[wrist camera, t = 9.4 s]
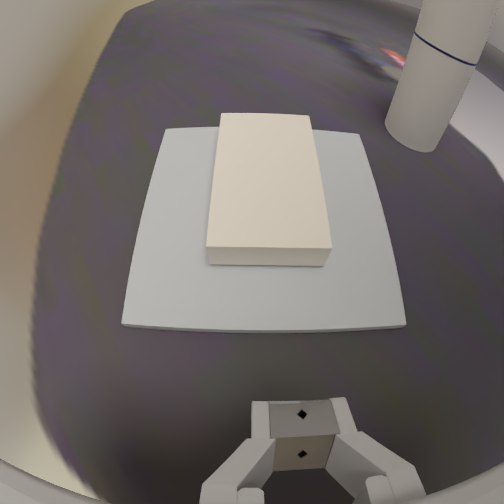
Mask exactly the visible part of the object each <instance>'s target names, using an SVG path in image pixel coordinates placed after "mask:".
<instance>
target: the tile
mask: <svg viewBox="0 0 504 504" xmlns="http://www.w3.org/2000/svg"><path fill="white" fill-rule="evenodd" d="M206 249H207V253H208V258H209V262H210V264H215V265H289V266H324V264H325V262H326V260H327V258H328V256H329V254H330V252H331V250H332V243H331V236H330V229H329V222H328V215H327V209H326V203H325V197H324V191H323V185H322V179H321V174H320V168H319V163H318V157H317V152H316V147H315V142H314V137H313V132H312V128H311V123H310V118H309V116H304V115H288V114H265V113H221V120H220V127H219V135H218V142H217V150H216V158H215V166H214V175H213V183H212V192H211V201H210V211H209V221H208V231H207V241H206Z"/></svg>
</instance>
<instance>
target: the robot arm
mask: <svg viewBox="0 0 504 504" xmlns="http://www.w3.org/2000/svg"><path fill="white" fill-rule="evenodd" d="M315 468H325V469H326V470H327V471H328V473H329V474H330V475H331V476H332V477H333V478H334V479H335V480H336V481H337V482H338V483H339V484H340V485H341V486H342V487H343V488H344V489H345V490H346V491H347V492H348V493H350V494H351V495H352V496H353V497H354V498H355V500H354V501H353V503H352V504H504V462H503V463H501V464H499V465H497V466H495V467H493V468H491V469H489V470H487V471H485V472H483V473H481V474H479V475H477V476H474V477H472V478H470V479H468V480H465V481H463V482H461V483H458V484H456V485H453V486H451V487H448V488H446V489H443V490H440V491H438V492H435V493H432V494H429V495H426V493H425V490H424V488H423V485H422V483H421V481H420V478H419V476H418V474H417V471H416V469H415V467H414V466H413V465H412V464H410V463H409V462H407V461H406V460H404V459H402V458H401V457H399V456H398V455H396V454H395V453H393V452H392V451H390V450H389V449H387V448H386V447H384V446H383V445H381V444H380V443H378V442H377V441H375V440H374V439H372V438H371V437H370V436H368V435H367V434H365V433H364V432H362V431H360V432H358V431H357V428H356V426H355V423H354V420H353V417H352V414H351V411H350V409H349V406H348V403H347V400H346V398H344V397H340V398H329V399H318V400H302V401H252V410H251V439H246V440H245V441H244V442H243V443H242V444H241V445H240V446H239V447H238V448H237V449H236V450H235V451H234V453H233V454H232V455H231V456H230V457H229V458H228V459H227V460H226V461H225V462H224V463H223V464H222V465H221V466H220V467H219V468H218V469H217V470H216V471H215V472H214V473H213V474H212V475H211V476H210V477H209V478H208V479H207V480H206V481H205V482H204V483H203V484H202V488H201V495H200V502H199V504H264V491H263V490H261V488H262V487H263V485H264V484H265V482H266V481H267V480H268V478H269V477H270V475H271V474H272V471H284V470H298V469H315ZM0 504H110V503H107V502H103V501H100V500H97V499H93V498H90V497H87V496H84V495H81V494H78V493H75V492H73V491H70V490H67V489H65V488H62V487H59V486H57V485H54V484H52V483H49V482H47V481H45V480H42V479H40V478H38V477H36V476H33V475H31V474H29V473H27V472H25V471H23V470H21V469H19V468H17V467H15V466H13V465H11V464H9V463H7V462H5V461H4V460H2V459H0Z"/></svg>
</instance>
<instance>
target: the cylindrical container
mask: <svg viewBox="0 0 504 504" xmlns="http://www.w3.org/2000/svg"><path fill="white" fill-rule="evenodd" d="M499 3H500V0H423V4H422V7H421V11H420V15H419V18H418V22H417V25H416V29H415V32H414V36H413V39H412V42H411V45H410V48H409V52H408V55H407V58H406V61H405V64H404V67H403V70H402V73H401V76H400V79H399V82H398V85H397V88H396V91H395V93H394V96H393V99H392V102H391V105H390V108H389V110H388V113H387V116H386V119H385V127H386V129H387V131H388V132H389V133H390V135H391V136H392V137H393V138H394V139H396V140H397V141H398V142H399V143H401V144H403V145H404V146H406V147H408V148H410V149H412V150H415V151H419V152H431V151H433V150H435V148H436V146H437V144H438V143H439V141H440V139H441V137H442V135H443V133H444V131H445V129H446V127H447V126H448V124H449V122H450V119H451V118H452V116H453V114H454V112H455V110H456V107H457V106H458V104H459V101H460V99H461V97H462V95H463V93H464V91H465V89H466V87H467V85H468V83H469V80H470V78H471V76H472V74H473V71H474V69H475V67H476V64H477V62H478V60H479V57H480V55H481V52H482V50H483V47H484V45H485V42H486V40H487V37H488V35H489V32H490V29H491V26H492V24H493V21H494V18H495V15H496V12H497V9H498V6H499Z"/></svg>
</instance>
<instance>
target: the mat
mask: <svg viewBox="0 0 504 504" xmlns="http://www.w3.org/2000/svg"><path fill="white" fill-rule="evenodd" d="M312 132H313V137H314V142H315V147H316V152H317V157H318V163H319V168H320V174H321V179H322V185H323V191H324V197H325V203H326V209H327V215H328V222H329V229H330V236H331V243H332V250H331V252H330V254H329V256H328V258H327V260H326V262H325V264H324V266H289V265H215V264H210V262H209V258H208V253H207V249H206V241H207V231H208V221H209V211H210V201H211V192H212V183H213V175H214V166H215V158H216V150H217V142H218V135H219V127H197V128H175V129H166V131H165V134H164V137H163V140H162V144H161V147H160V150H159V153H158V157H157V160H156V164H155V167H154V171H153V174H152V178H151V181H150V185H149V189H148V193H147V197H146V201H145V205H144V209H143V213H142V217H141V221H140V225H139V230H138V234H137V239H136V244H135V248H134V253H133V258H132V263H131V268H130V274H129V279H128V285H127V291H126V297H125V303H124V310H123V316H122V323H121V324H123V325H124V326H125V327H135V328H147V329H161V330H177V331H197V332H225V333H314V332H341V331H361V330H377V329H390V328H402V327H403V326H405V325H406V318H405V312H404V306H403V300H402V294H401V288H400V283H399V278H398V273H397V268H396V263H395V258H394V254H393V249H392V245H391V241H390V236H389V232H388V228H387V224H386V220H385V217H384V213H383V209H382V205H381V202H380V198H379V195H378V191H377V188H376V185H375V181H374V178H373V175H372V171H371V168H370V165H369V162H368V159H367V156H366V153H365V150H364V147H363V144H362V141H361V139H360V136H359V134H353V133H344V132H334V131H323V130H312Z"/></svg>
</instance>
